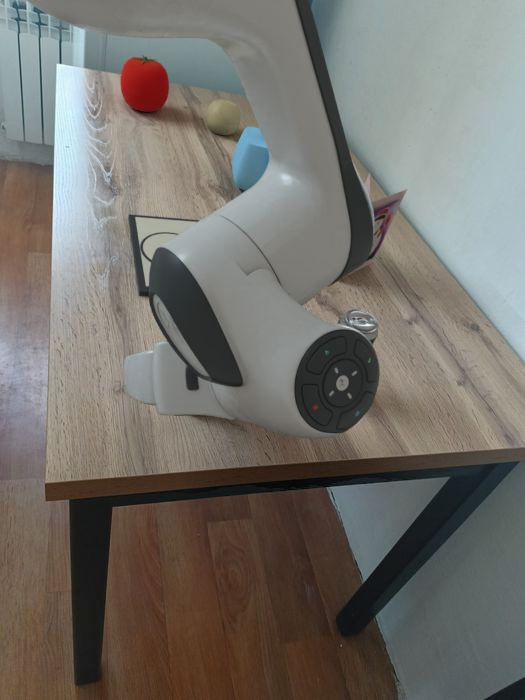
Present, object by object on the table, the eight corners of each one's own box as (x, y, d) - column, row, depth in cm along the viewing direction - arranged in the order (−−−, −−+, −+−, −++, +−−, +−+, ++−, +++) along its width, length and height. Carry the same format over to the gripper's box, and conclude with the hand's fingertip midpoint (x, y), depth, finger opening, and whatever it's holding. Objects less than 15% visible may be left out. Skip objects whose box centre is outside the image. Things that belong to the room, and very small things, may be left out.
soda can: (353, 397, 73) (389, 332, 65) (321, 402, 70) (354, 336, 62) (336, 370, 76) (368, 305, 68) (305, 374, 74) (334, 307, 65)
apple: (202, 133, 120) (201, 96, 118) (211, 137, 128) (210, 102, 126) (237, 132, 119) (236, 95, 117) (244, 137, 126) (243, 101, 124)
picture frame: (139, 295, 77) (139, 289, 76) (128, 218, 90) (128, 212, 89) (245, 299, 82) (247, 293, 81) (220, 225, 95) (221, 220, 94)
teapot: (282, 167, 119) (297, 116, 111) (292, 210, 106) (310, 155, 98) (227, 156, 116) (238, 102, 108) (231, 198, 103) (244, 141, 95)
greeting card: (340, 283, 91) (374, 205, 81) (308, 260, 94) (337, 182, 84) (376, 265, 99) (411, 191, 89) (345, 243, 102) (376, 170, 92)
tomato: (169, 121, 121) (175, 71, 114) (121, 115, 117) (124, 62, 110) (162, 102, 128) (167, 53, 121) (116, 95, 124) (119, 45, 117)
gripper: (345, 333, 53) (285, 335, 66) (137, 343, 45) (114, 344, 58) (348, 396, 54) (287, 386, 66) (141, 417, 45) (117, 402, 58)
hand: (205, 366), depth 62 cm, fingers closed on pill bottle, 5 cm apart
